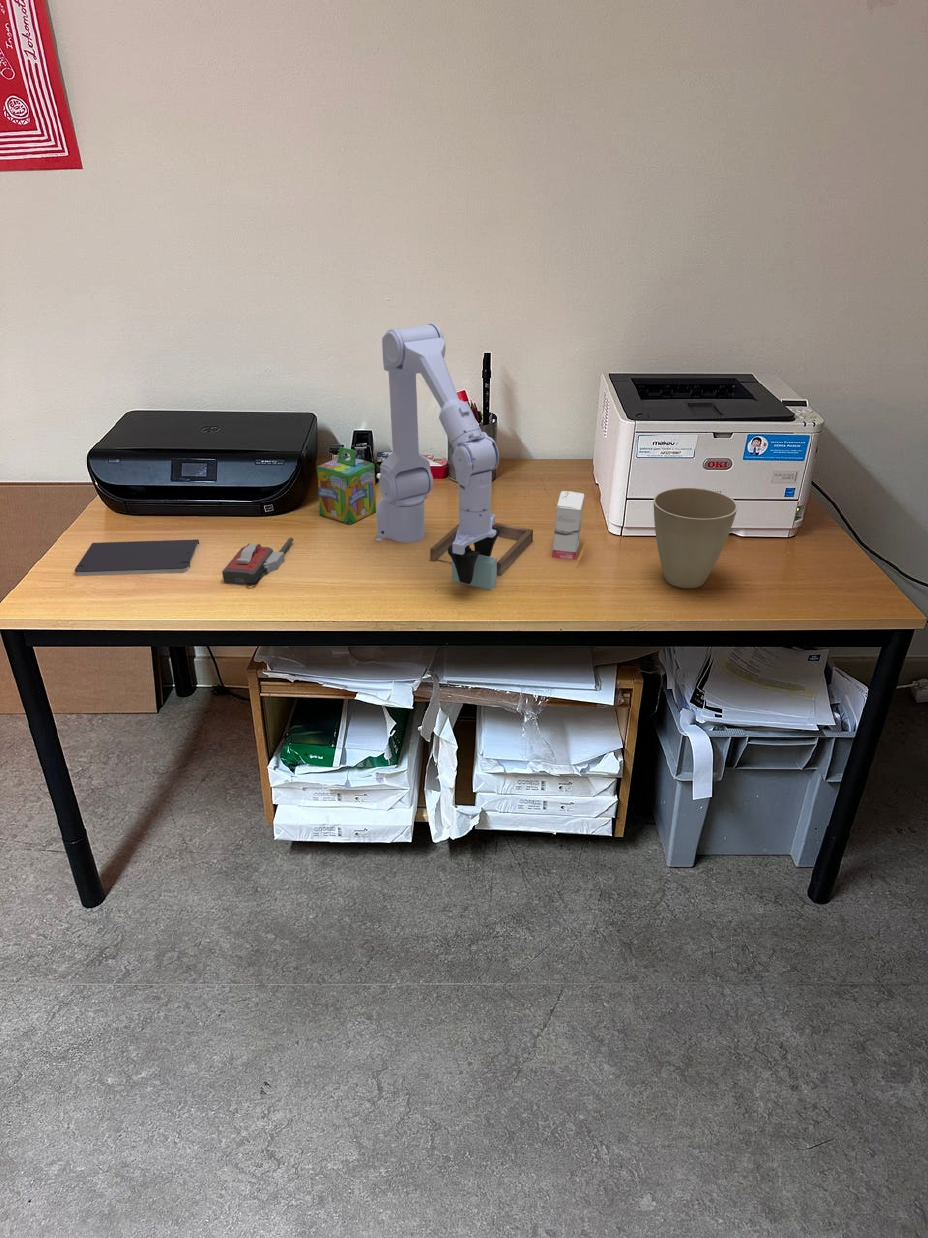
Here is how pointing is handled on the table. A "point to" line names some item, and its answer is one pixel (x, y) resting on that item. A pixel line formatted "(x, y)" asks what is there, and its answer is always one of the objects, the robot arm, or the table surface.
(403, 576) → the table surface
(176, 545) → the notebook
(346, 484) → the chalk box
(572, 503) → the ink box
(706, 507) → the plant pot
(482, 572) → the teal rectangular block
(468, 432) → the robot arm
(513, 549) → the rack
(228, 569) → the walkie-talkie
